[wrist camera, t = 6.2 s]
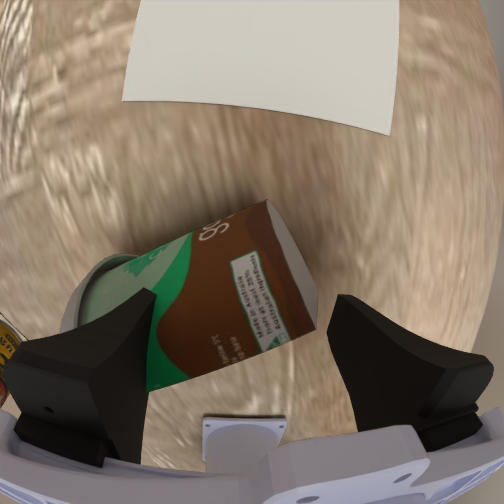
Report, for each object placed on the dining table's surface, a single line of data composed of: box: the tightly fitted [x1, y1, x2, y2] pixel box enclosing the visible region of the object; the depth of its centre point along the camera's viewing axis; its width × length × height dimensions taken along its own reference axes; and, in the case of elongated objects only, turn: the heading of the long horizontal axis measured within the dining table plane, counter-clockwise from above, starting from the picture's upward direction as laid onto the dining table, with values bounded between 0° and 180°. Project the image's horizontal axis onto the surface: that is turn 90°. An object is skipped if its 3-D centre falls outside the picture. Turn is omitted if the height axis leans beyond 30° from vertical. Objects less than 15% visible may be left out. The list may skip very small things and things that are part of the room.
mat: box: [122, 0, 399, 136], centre depth 13 cm, size 14×16×1 cm
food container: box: [59, 199, 318, 393], centre depth 14 cm, size 12×6×10 cm
